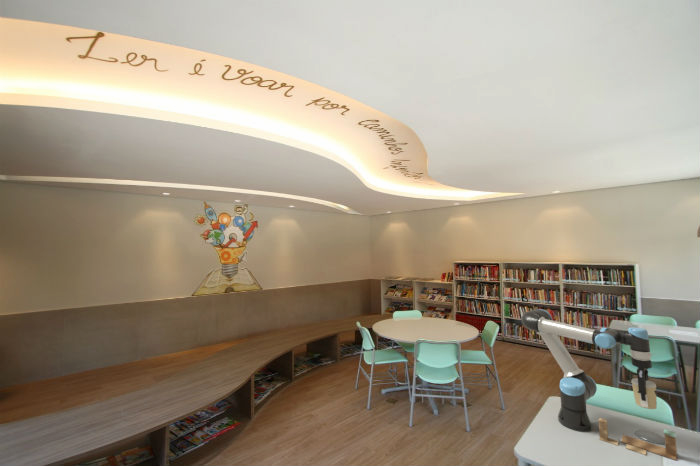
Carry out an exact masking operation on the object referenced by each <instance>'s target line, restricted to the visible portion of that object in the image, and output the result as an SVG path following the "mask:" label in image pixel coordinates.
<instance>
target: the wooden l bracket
mask: <svg viewBox="0 0 700 466" xmlns="http://www.w3.org/2000/svg"><path fill="white" fill-rule="evenodd" d="M663 435H664V438H665V444H664V447H663V446H661V445H659V444H658V445H657V444H656V443H652V442H649V441H646V440H643V439H639V438H635V437H632V436H629V435H626V434H622V435H621V441H620V442H621V443H622V444H625V445H626V444H629V445H632V446H635V447H638V448H641V449H644V450H646V452H650V453H652V454H655V455H659V456H662V457H665V458H668V459H671V460H673V461H677V458H678V451H677V439H676V438H677V433H676V432H675V431H672V430H669V429H665V428H664V429H663Z"/></svg>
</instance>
